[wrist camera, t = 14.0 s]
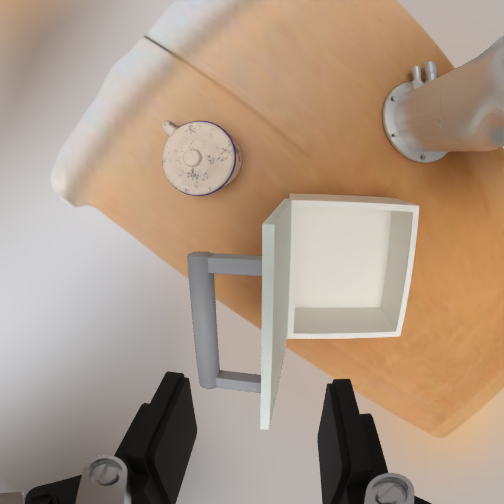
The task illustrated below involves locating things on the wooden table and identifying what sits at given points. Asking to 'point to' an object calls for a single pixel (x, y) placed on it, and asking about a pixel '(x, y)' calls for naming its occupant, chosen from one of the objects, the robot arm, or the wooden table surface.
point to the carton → (349, 265)
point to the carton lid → (273, 310)
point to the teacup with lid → (200, 157)
